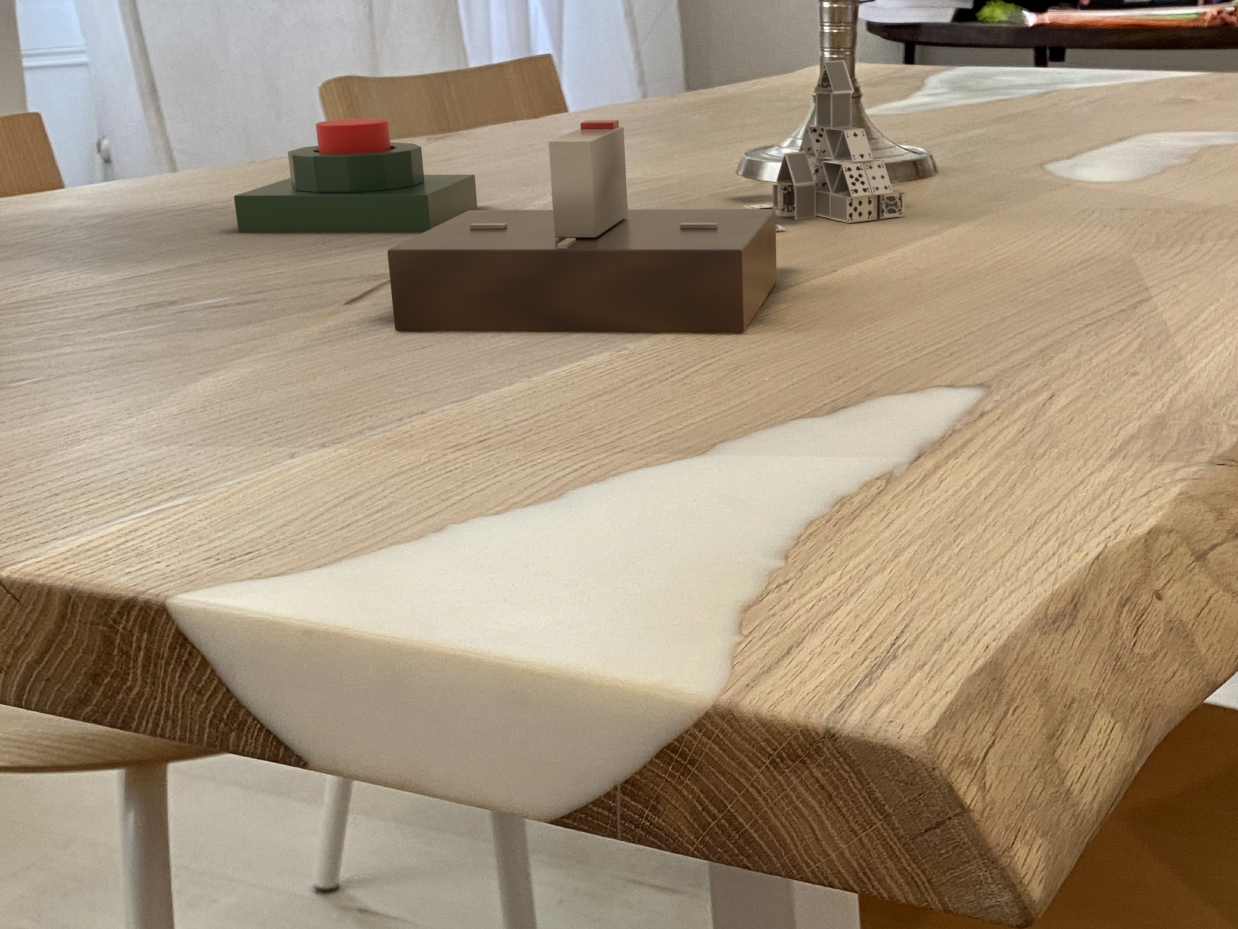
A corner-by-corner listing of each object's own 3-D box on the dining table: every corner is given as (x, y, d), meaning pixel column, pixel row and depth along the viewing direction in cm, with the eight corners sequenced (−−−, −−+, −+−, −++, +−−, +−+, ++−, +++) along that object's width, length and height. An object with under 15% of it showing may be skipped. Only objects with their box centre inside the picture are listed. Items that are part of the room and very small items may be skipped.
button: (308, 161, 81) (304, 125, 81) (335, 153, 85) (331, 119, 84) (377, 160, 81) (373, 124, 80) (401, 152, 84) (397, 118, 84)
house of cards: (677, 213, 86) (671, 63, 84) (813, 198, 91) (812, 55, 88) (766, 233, 79) (763, 69, 76) (909, 216, 83) (911, 61, 81)
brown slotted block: (394, 331, 59) (385, 245, 58) (473, 281, 69) (467, 206, 68) (743, 333, 58) (741, 244, 57) (777, 282, 67) (775, 204, 66)
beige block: (596, 238, 60) (590, 133, 58) (554, 237, 60) (547, 134, 58) (628, 216, 65) (623, 119, 63) (589, 216, 65) (583, 120, 64)
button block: (239, 240, 81) (228, 158, 80) (301, 216, 88) (292, 141, 87) (431, 239, 80) (423, 156, 78) (478, 215, 87) (472, 139, 86)
